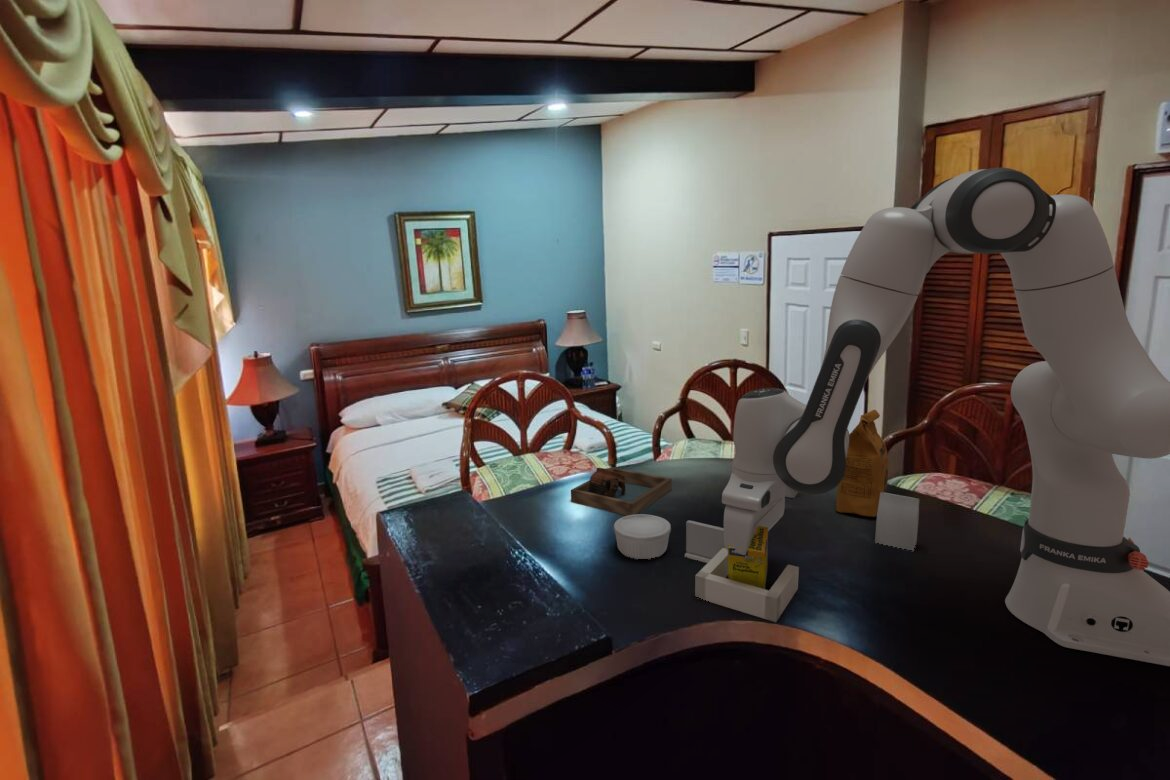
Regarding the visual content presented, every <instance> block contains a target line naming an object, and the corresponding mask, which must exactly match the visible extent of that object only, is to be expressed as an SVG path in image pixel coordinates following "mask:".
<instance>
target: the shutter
mask: <svg viewBox="0 0 1170 780" xmlns="http://www.w3.org/2000/svg"><path fill="white" fill-rule="evenodd" d="M685 527H686V529H685V530H686V531H685V533H686V534H685V538H686V539H685V546H686V547H685V551H686V553H687V552H691V553H695V554H698V555H702V556H706V557H710V558H713V557H714V556H715V555H716V554H717V553H718V552H719V551H720V550H721V549H722V548H725V549H726V547H725V544H724V527H720V526H715V525H710V524H707V523H702V522H698V521H694V520H687V521H686V523H685Z"/></svg>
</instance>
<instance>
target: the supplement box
mask: <svg viewBox="0 0 1170 780" xmlns="http://www.w3.org/2000/svg"><path fill="white" fill-rule="evenodd" d="M768 540H769V531H768V527H762V526H759V527H758V529H757V531H756V533H755V535H754V536H753V538H752V540H751V543H750V545H749V548H748V550H747V552H746V555H742V554H739V553H737V552H735V551H734V550H735V549H736V548H733V547H731V546H728V579H730V580H734V581H737V582H741V583H744V584H748V585H752V586H755V587H759V588H762V589H766V582H767V576H768V549H769V548H768V543H769V541H768Z"/></svg>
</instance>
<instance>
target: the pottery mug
mask: <svg viewBox="0 0 1170 780" xmlns="http://www.w3.org/2000/svg"><path fill="white" fill-rule="evenodd" d="M624 479H625V476H623V475H621V474H619V473H617V472H614V471H611V470H609V469H607V468H605V467H603V468H602V467H597V468H596V471H595V472H594V473H593V474H592V475H590V477H589V480H590V483H589V489H587V490H586V492H590V493H594V494H599V495H603V496H607V497H612V498H616V494H617V492H618V491H619V488H620V489H621V491H620V492H621V495H625V494H626V482H624ZM603 481H604V482H606V485H603Z"/></svg>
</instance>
